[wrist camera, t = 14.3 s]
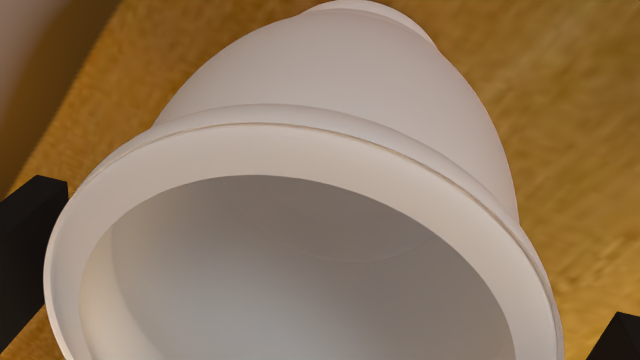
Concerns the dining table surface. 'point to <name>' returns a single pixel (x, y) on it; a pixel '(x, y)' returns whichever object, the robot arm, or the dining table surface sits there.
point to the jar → (306, 213)
